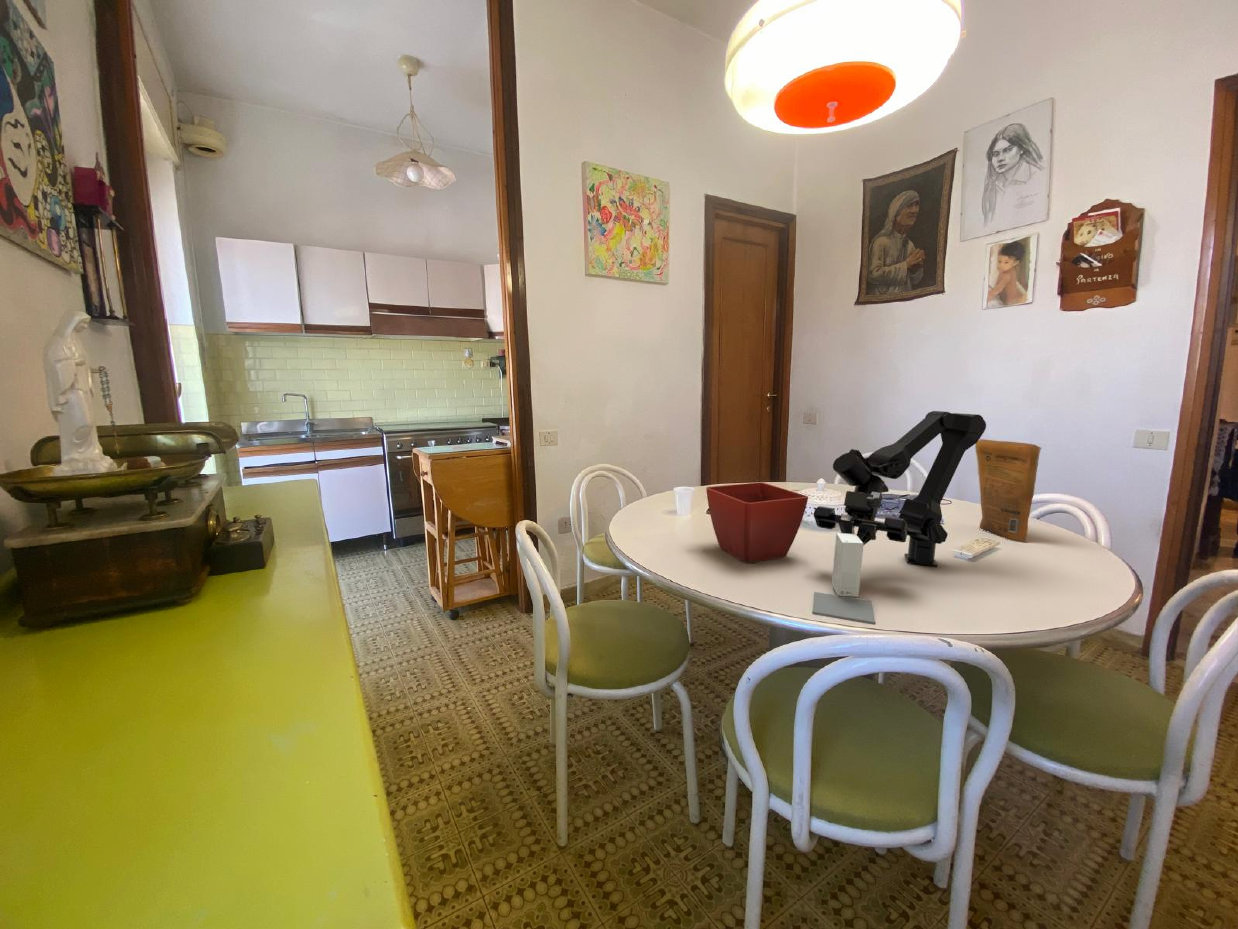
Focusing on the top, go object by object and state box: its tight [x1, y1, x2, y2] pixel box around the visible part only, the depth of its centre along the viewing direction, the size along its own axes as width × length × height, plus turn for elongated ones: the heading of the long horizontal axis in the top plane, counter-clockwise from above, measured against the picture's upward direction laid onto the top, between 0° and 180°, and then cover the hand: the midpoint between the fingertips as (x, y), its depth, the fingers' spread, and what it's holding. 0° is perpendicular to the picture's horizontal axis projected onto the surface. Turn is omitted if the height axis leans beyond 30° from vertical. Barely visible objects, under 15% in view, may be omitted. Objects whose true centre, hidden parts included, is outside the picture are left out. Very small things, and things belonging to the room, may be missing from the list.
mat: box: [812, 591, 876, 625], centre depth 98 cm, size 10×11×1 cm
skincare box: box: [831, 532, 865, 598], centre depth 104 cm, size 6×4×12 cm
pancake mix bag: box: [974, 438, 1042, 543], centre depth 143 cm, size 7×19×28 cm, turn 5°
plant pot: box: [705, 482, 809, 563], centre depth 129 cm, size 19×19×17 cm
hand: (849, 555), depth 107 cm, fingers closed
